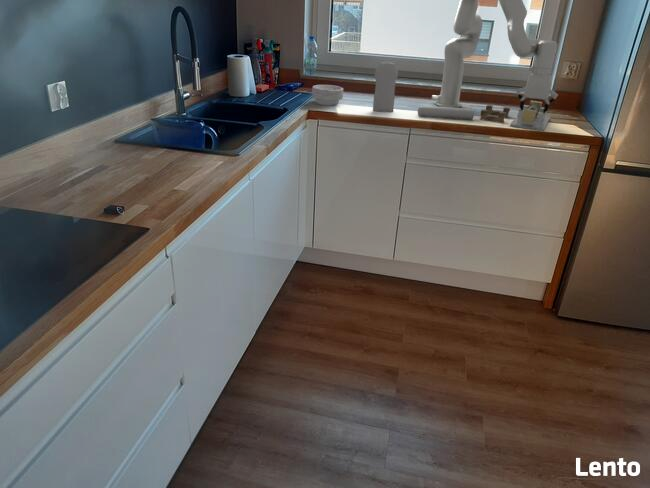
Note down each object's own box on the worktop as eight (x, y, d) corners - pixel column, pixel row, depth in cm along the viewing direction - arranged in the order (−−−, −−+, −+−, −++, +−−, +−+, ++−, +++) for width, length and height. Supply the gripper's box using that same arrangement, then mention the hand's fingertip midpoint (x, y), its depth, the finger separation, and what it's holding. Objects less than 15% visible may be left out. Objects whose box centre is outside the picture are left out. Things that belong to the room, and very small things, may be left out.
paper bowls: (348, 103, 251) (349, 86, 247) (332, 108, 239) (332, 91, 236) (322, 99, 258) (323, 82, 254) (305, 103, 247) (306, 87, 243)
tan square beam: (521, 121, 219) (523, 109, 217) (528, 111, 238) (530, 100, 236) (533, 123, 217) (536, 111, 215) (539, 112, 237) (542, 102, 234)
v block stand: (509, 126, 221) (512, 112, 218) (518, 115, 242) (521, 102, 239) (543, 131, 216) (547, 117, 213) (549, 119, 237) (552, 106, 234)
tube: (417, 108, 228) (474, 112, 225) (418, 102, 232) (474, 106, 229) (416, 119, 232) (472, 122, 229) (417, 113, 236) (471, 116, 233)
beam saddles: (479, 119, 231) (481, 110, 229) (486, 113, 243) (487, 104, 241) (503, 122, 227) (504, 113, 225) (508, 116, 239) (510, 107, 237)
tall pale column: (372, 111, 236) (376, 62, 226) (371, 109, 240) (375, 61, 230) (394, 112, 237) (399, 63, 227) (393, 110, 241) (398, 61, 230)
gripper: (519, 70, 219) (511, 110, 227) (562, 74, 212) (552, 115, 220) (522, 68, 225) (514, 107, 233) (563, 72, 218) (554, 112, 226)
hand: (532, 111), depth 227 cm, fingers open, 9 cm apart
